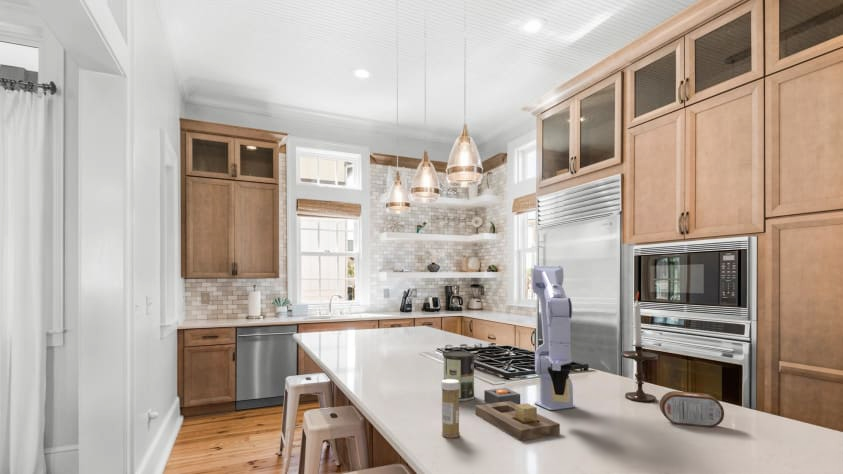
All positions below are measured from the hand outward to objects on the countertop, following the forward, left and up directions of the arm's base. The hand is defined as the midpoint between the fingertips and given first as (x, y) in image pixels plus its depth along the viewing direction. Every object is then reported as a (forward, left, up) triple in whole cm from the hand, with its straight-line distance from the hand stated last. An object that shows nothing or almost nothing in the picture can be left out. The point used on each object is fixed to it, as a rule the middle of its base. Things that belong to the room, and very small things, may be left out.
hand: (560, 392), depth 120 cm
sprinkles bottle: (+31, -4, -9) cm, 33 cm away
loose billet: (0, 0, -2) cm, 2 cm away
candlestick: (-41, -10, -9) cm, 43 cm away
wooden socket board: (+11, -5, -8) cm, 15 cm away
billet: (+11, 0, -8) cm, 14 cm away
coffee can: (+13, -34, -9) cm, 38 cm away
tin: (-33, +14, -9) cm, 36 cm away
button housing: (+4, -22, -8) cm, 24 cm away
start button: (+4, -22, -7) cm, 24 cm away
